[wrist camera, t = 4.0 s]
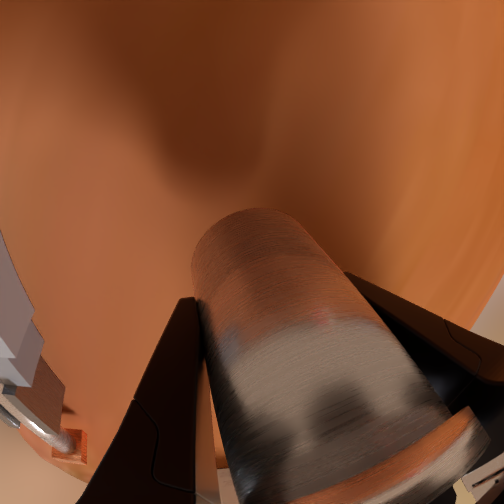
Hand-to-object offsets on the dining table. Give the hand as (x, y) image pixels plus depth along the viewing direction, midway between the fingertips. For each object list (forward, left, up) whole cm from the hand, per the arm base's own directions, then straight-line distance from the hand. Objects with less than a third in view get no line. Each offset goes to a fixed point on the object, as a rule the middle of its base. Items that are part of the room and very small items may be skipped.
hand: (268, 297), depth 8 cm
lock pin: (+16, +12, -4) cm, 20 cm away
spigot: (0, 0, -2) cm, 2 cm away
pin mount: (+16, +9, -5) cm, 19 cm away
